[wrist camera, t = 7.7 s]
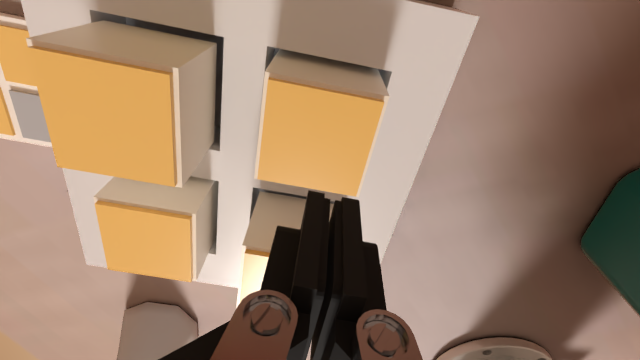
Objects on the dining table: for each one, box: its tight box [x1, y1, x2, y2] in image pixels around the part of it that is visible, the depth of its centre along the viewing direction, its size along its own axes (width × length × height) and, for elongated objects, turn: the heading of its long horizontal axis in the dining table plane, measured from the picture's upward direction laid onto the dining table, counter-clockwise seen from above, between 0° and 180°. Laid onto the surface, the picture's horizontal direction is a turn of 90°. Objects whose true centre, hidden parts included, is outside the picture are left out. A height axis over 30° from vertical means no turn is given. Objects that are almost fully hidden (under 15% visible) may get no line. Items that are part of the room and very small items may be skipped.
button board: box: [21, 0, 479, 288], centre depth 21 cm, size 20×20×4 cm
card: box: [0, 12, 52, 147], centre depth 21 cm, size 8×8×1 cm
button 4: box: [93, 176, 219, 282], centre depth 21 cm, size 5×5×5 cm
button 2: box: [236, 191, 334, 309], centre depth 20 cm, size 5×5×5 cm
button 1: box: [254, 49, 390, 197], centre depth 17 cm, size 5×5×5 cm
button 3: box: [26, 20, 217, 188], centre depth 15 cm, size 5×5×5 cm
